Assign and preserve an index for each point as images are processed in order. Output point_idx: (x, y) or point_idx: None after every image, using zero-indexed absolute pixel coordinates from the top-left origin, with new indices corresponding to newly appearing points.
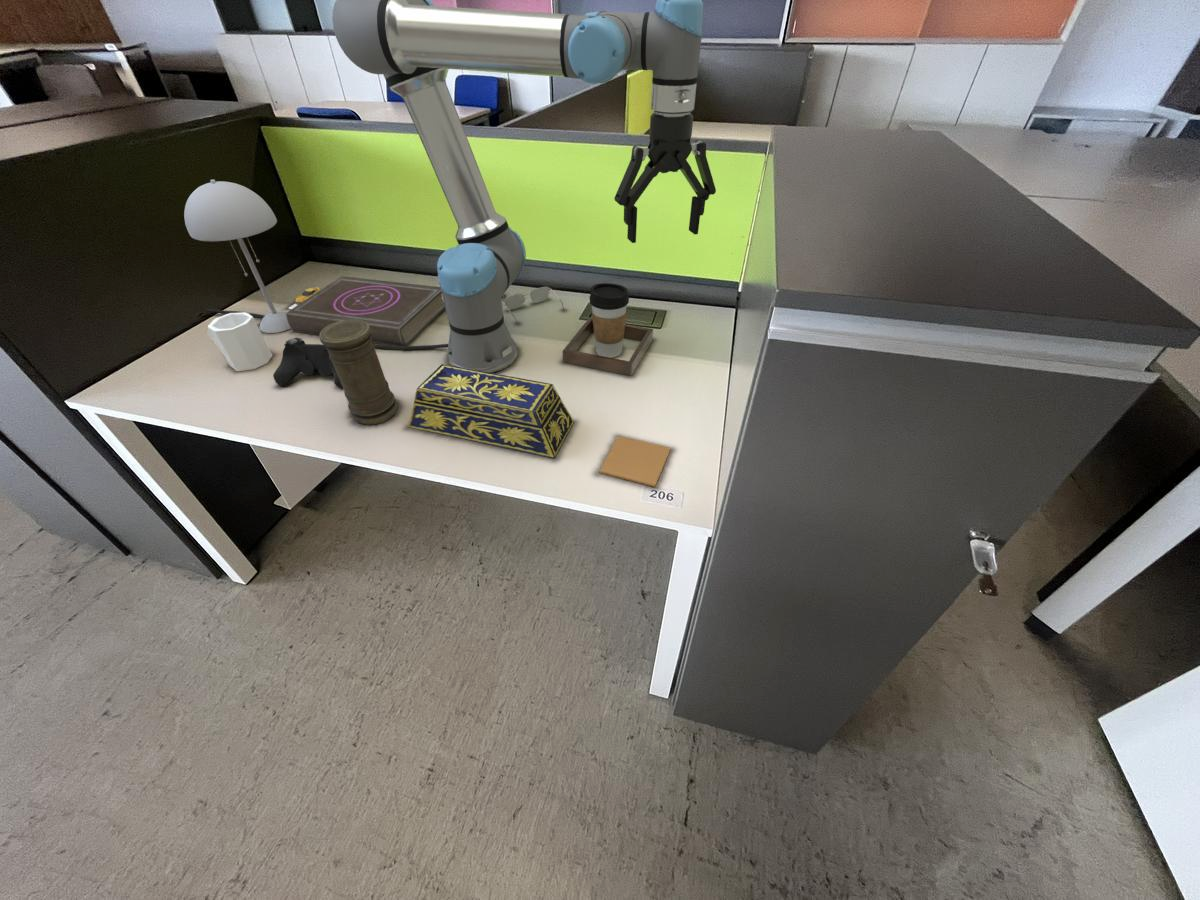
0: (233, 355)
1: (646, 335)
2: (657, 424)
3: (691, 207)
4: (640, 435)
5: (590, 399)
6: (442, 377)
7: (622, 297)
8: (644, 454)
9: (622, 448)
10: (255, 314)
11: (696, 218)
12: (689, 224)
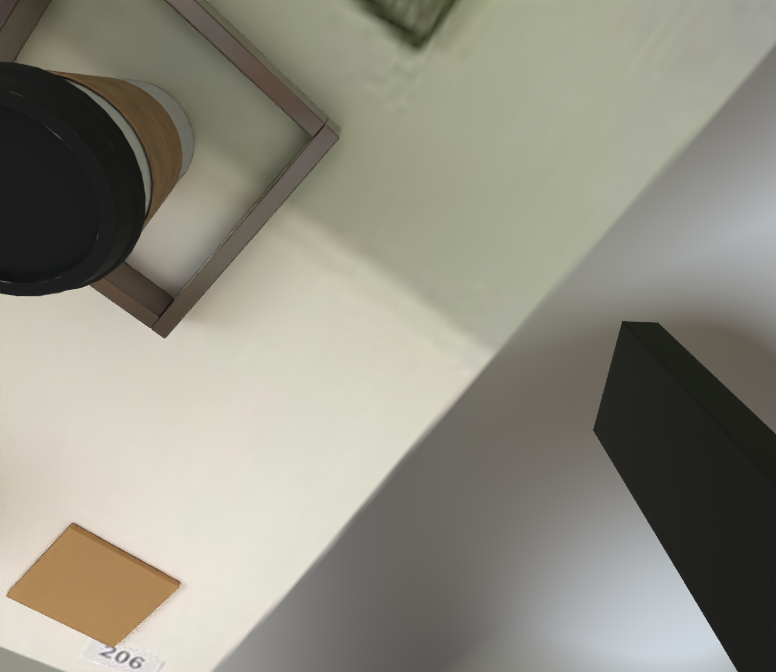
0: None
1: (289, 178)
2: (182, 513)
3: (747, 476)
4: (128, 531)
5: (22, 376)
6: None
7: (70, 287)
8: (115, 587)
9: (70, 562)
10: None
11: (657, 535)
12: (644, 355)
